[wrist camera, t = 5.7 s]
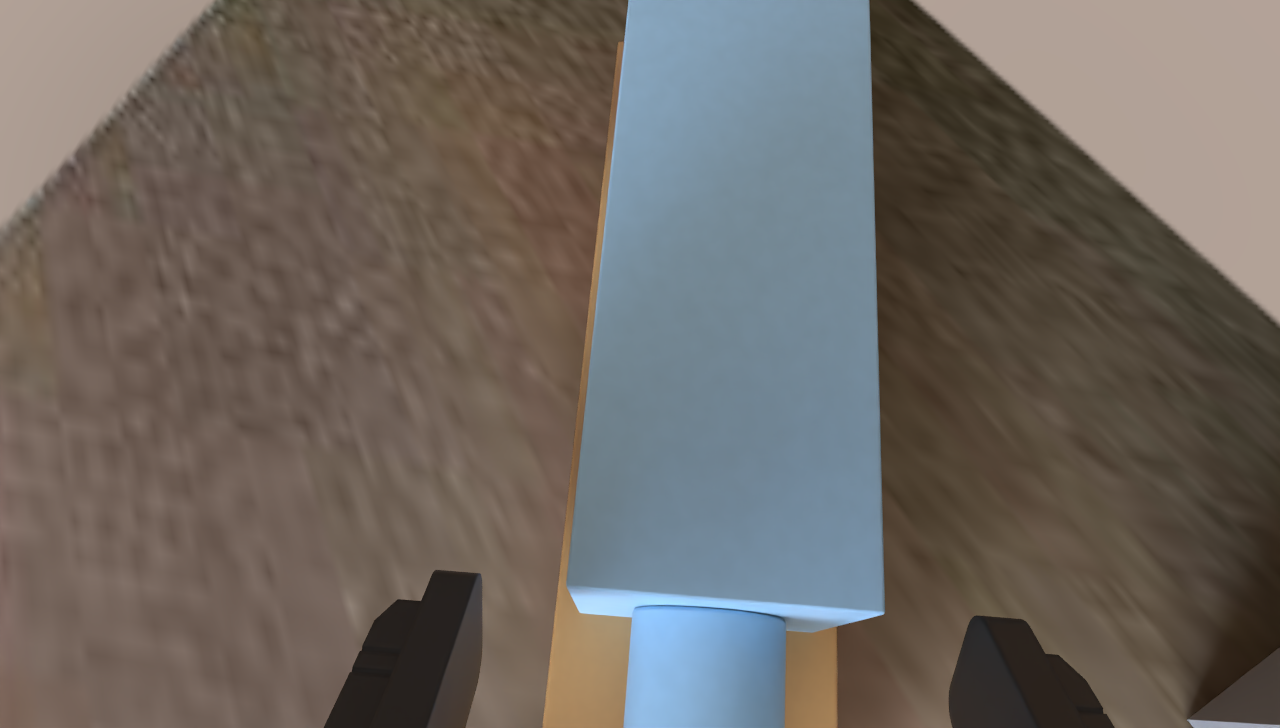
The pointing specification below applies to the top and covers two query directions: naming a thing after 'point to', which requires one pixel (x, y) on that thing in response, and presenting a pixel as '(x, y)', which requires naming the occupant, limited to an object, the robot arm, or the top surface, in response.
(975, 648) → the robot arm
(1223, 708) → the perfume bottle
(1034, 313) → the top surface
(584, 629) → the wooden board
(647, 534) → the light blue bottle
